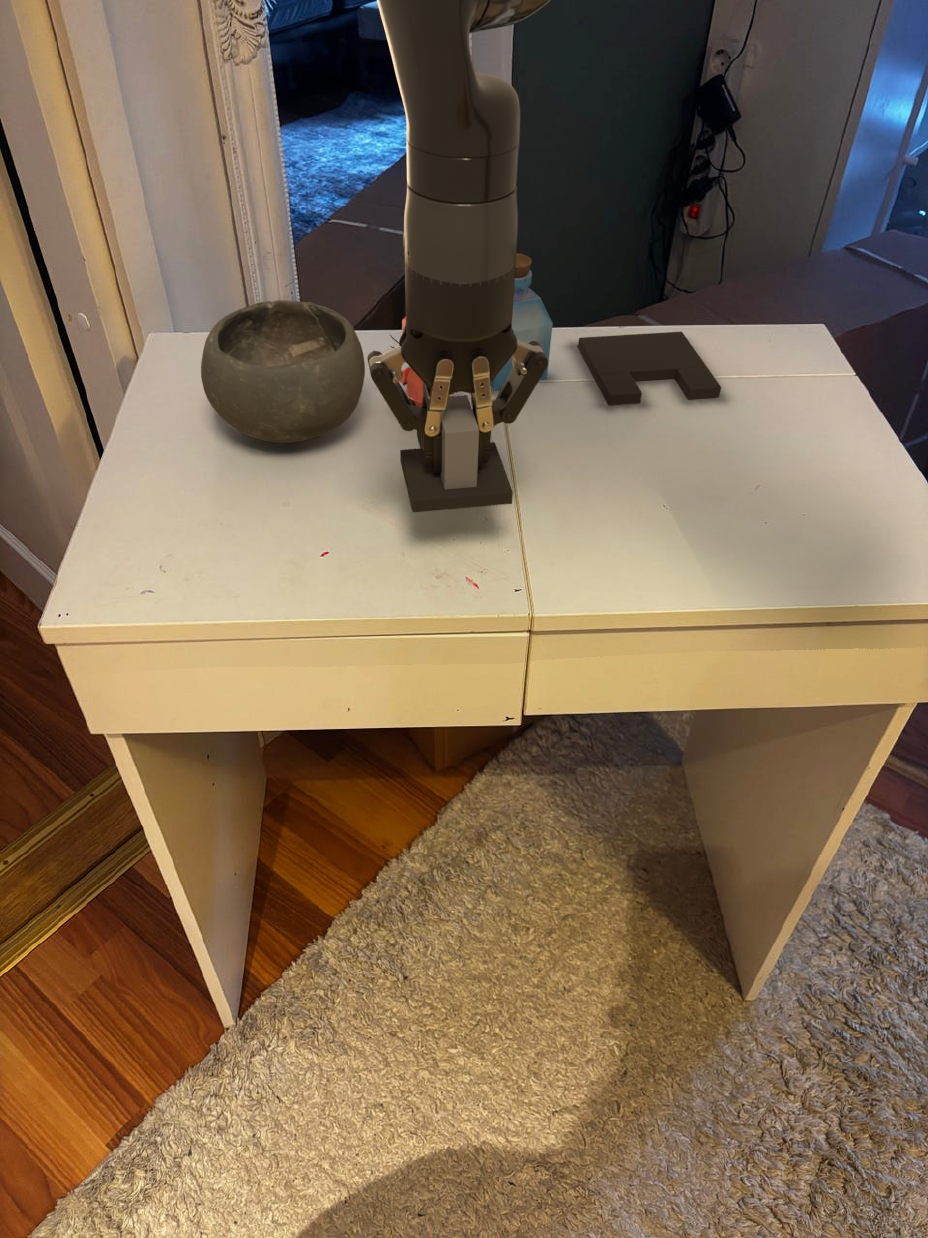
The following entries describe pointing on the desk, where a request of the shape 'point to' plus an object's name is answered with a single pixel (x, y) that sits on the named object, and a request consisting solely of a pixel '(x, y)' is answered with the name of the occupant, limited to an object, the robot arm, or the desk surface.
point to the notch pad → (646, 365)
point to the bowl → (283, 370)
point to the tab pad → (453, 499)
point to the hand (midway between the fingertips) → (455, 465)
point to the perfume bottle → (526, 318)
